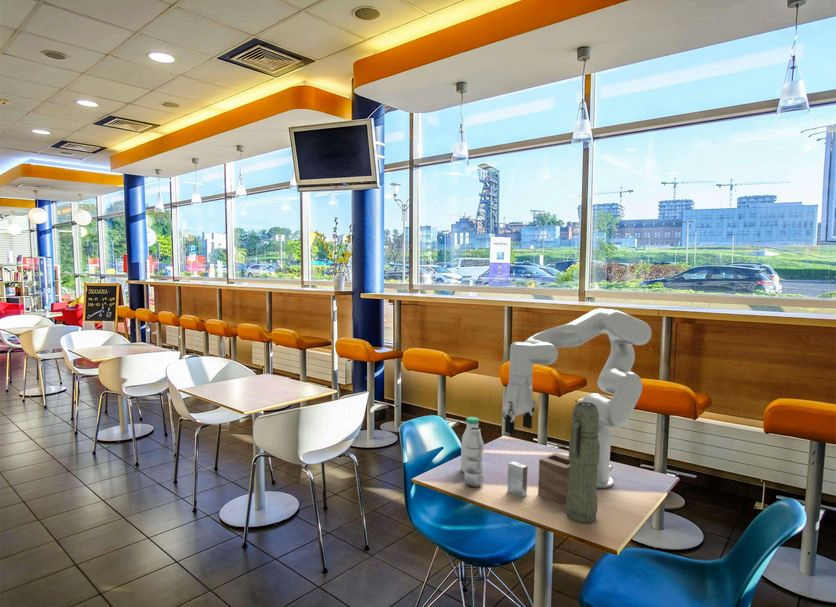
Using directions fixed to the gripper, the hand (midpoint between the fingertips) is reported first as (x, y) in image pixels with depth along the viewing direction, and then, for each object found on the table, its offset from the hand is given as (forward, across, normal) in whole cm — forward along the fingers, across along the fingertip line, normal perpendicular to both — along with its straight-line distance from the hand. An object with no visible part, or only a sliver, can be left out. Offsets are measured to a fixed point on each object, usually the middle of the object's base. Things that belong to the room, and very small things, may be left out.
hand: (518, 430), depth 170 cm
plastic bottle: (+22, +6, -14) cm, 27 cm away
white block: (+22, 0, 0) cm, 22 cm away
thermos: (+22, -2, +23) cm, 32 cm away
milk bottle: (+22, -3, -23) cm, 32 cm away
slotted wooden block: (+22, -10, +10) cm, 26 cm away
